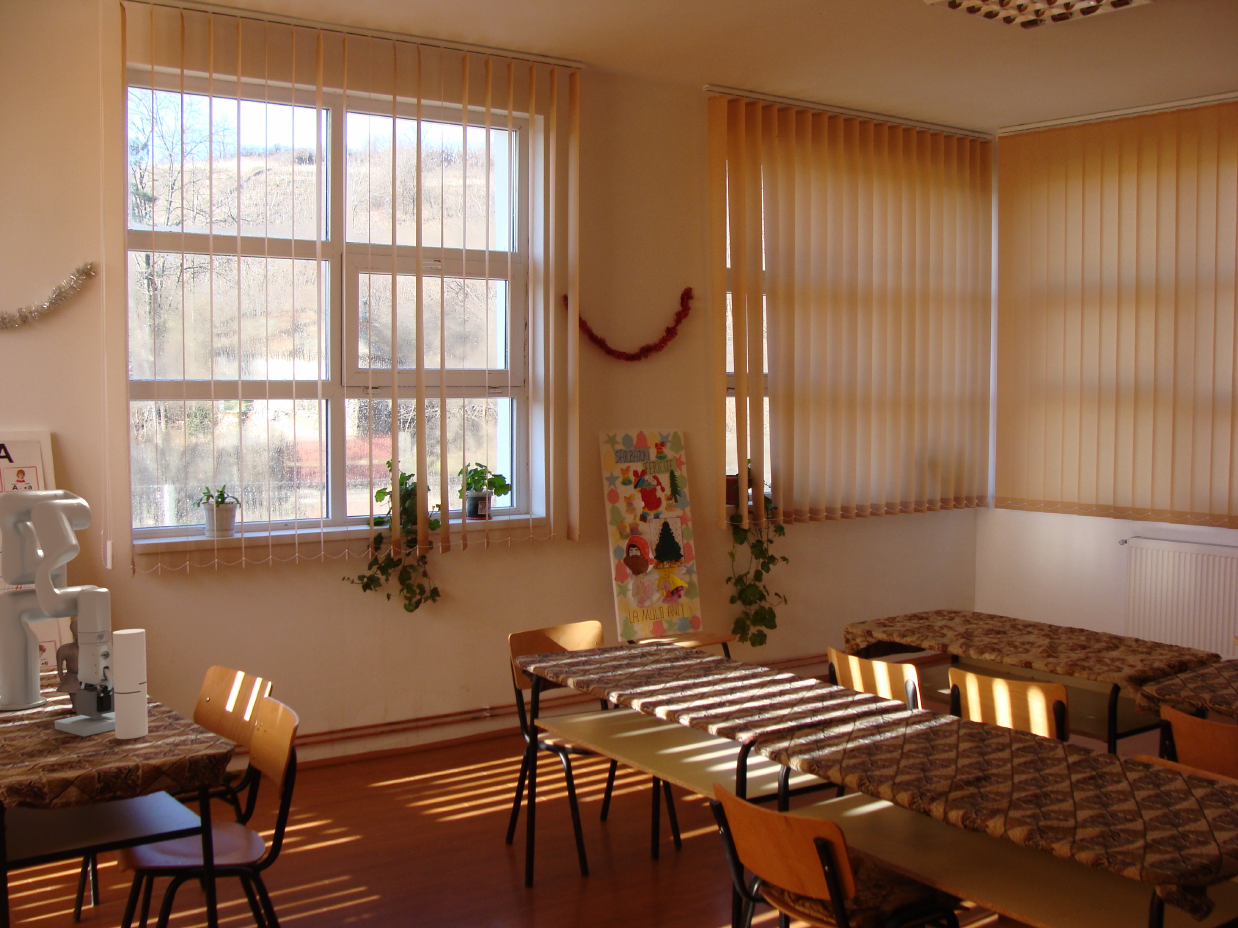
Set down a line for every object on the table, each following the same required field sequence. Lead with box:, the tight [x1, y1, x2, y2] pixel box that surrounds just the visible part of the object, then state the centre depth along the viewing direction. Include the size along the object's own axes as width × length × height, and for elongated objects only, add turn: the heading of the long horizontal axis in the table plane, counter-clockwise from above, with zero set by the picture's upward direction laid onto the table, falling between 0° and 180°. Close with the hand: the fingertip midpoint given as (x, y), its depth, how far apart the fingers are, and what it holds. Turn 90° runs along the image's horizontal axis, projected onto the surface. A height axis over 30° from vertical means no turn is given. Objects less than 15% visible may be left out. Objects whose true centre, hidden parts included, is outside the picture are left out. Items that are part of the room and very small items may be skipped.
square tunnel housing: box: [76, 686, 115, 717], centre depth 267 cm, size 7×7×6 cm
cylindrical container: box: [112, 628, 149, 740], centre depth 257 cm, size 7×7×25 cm
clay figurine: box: [55, 616, 105, 713], centre depth 286 cm, size 13×10×25 cm
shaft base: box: [54, 712, 115, 737], centre depth 267 cm, size 14×14×8 cm
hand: (96, 708), depth 267 cm, fingers closed on square tunnel housing, 6 cm apart
